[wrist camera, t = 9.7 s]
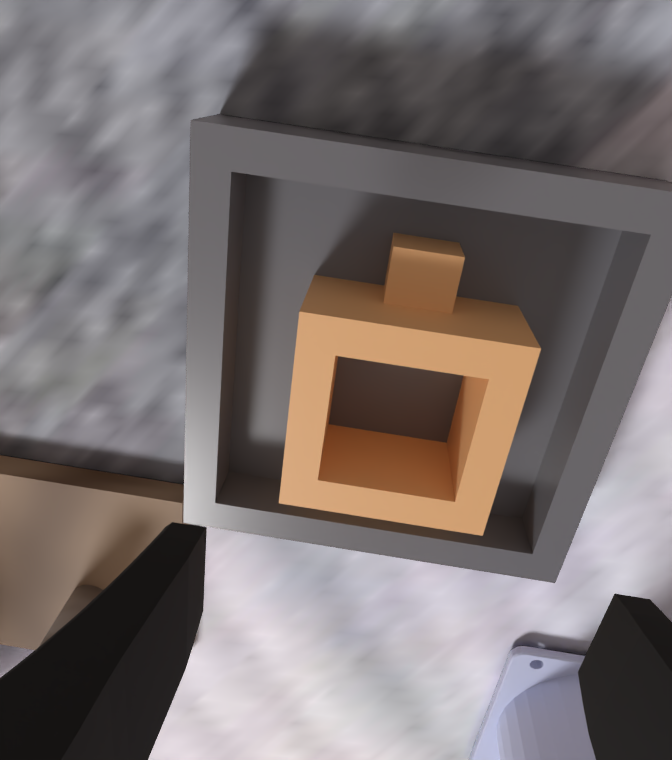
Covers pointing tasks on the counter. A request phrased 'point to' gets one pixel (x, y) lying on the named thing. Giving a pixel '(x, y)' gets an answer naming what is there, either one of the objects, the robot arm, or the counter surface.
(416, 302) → the ring
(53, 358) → the counter surface
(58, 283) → the counter surface
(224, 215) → the tray
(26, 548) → the stake board
